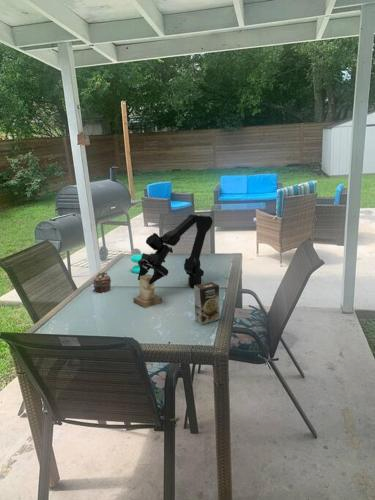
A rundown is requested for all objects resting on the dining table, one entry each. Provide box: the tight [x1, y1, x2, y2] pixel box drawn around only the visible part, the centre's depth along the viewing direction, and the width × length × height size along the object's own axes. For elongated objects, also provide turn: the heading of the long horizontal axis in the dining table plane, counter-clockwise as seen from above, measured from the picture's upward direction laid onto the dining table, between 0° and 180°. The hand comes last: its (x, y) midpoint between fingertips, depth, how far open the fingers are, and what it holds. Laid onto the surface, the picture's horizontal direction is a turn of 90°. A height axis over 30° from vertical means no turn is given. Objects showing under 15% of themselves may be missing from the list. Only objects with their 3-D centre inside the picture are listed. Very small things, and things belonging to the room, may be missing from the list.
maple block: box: [139, 273, 155, 300], centre depth 191 cm, size 5×5×11 cm
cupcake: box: [92, 271, 112, 294], centre depth 213 cm, size 10×10×10 cm
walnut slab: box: [133, 294, 163, 309], centre depth 193 cm, size 10×10×3 cm
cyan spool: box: [130, 253, 143, 274], centre depth 244 cm, size 10×10×10 cm
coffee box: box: [193, 281, 221, 325], centre depth 168 cm, size 9×6×16 cm
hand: (143, 282), depth 190 cm, fingers open, 9 cm apart
